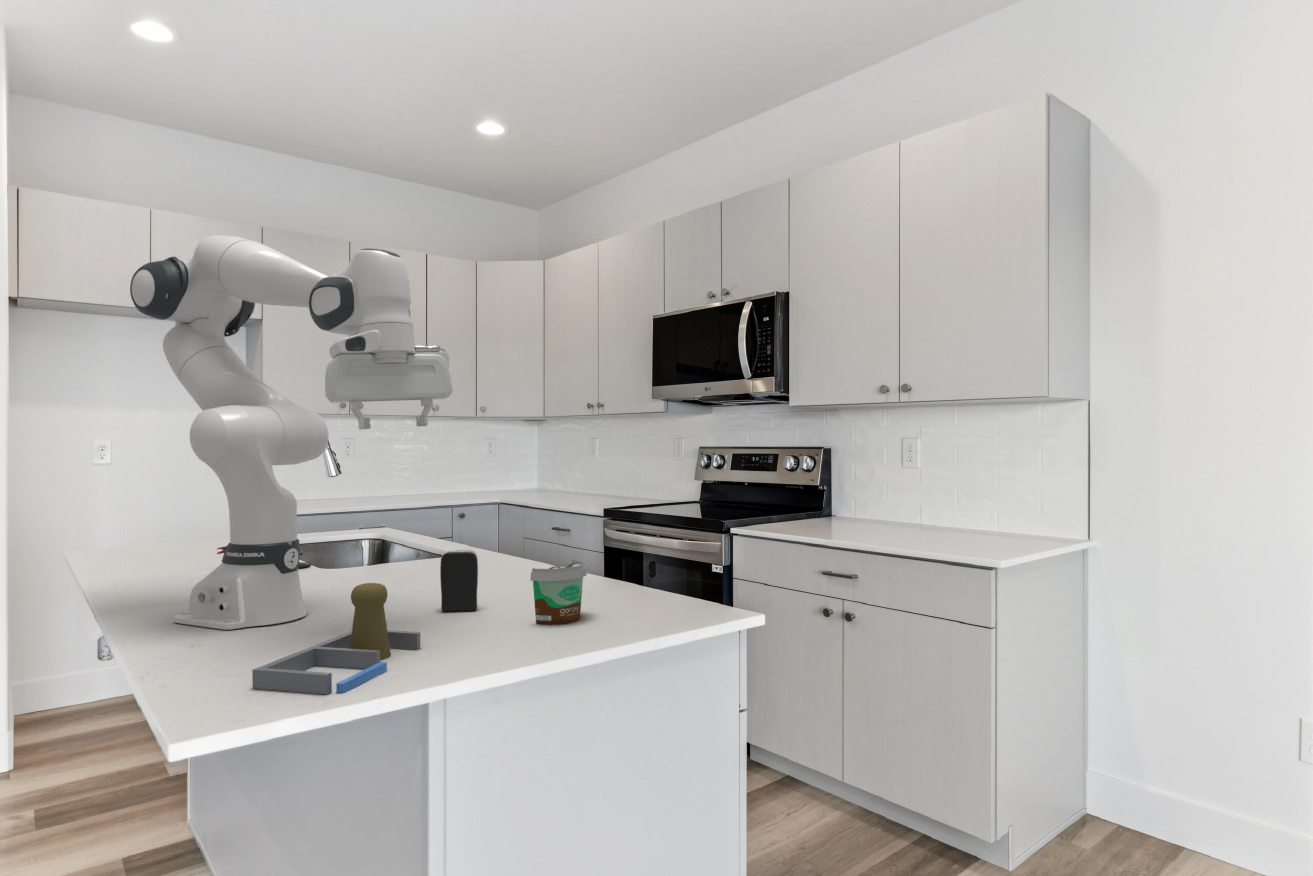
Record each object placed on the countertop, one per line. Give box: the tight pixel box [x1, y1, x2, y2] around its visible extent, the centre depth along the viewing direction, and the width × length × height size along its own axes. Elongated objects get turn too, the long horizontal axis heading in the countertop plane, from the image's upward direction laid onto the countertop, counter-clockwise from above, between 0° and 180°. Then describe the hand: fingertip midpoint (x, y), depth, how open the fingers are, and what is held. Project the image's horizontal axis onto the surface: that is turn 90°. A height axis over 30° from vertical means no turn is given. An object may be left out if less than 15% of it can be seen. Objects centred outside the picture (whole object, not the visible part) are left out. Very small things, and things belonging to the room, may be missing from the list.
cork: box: [350, 582, 392, 661], centre depth 120 cm, size 6×6×11 cm
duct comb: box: [251, 629, 421, 695], centre depth 114 cm, size 13×23×2 cm, turn 166°
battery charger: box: [439, 549, 479, 613], centre depth 152 cm, size 7×4×11 cm, turn 98°
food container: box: [529, 559, 588, 626], centre depth 142 cm, size 12×6×10 cm, turn 148°
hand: (394, 427), depth 132 cm, fingers open, 8 cm apart
